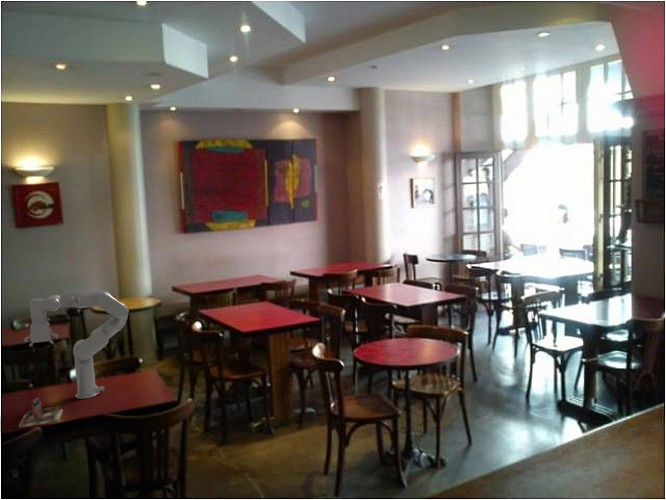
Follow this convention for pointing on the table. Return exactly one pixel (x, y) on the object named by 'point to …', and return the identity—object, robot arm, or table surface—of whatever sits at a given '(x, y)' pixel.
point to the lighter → (37, 408)
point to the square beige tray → (48, 417)
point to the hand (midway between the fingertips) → (42, 351)
